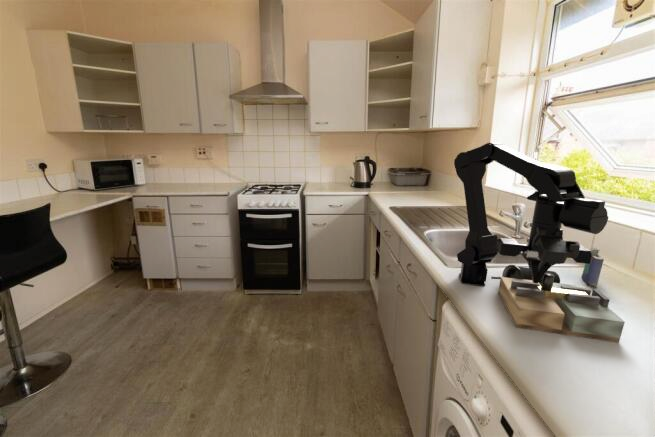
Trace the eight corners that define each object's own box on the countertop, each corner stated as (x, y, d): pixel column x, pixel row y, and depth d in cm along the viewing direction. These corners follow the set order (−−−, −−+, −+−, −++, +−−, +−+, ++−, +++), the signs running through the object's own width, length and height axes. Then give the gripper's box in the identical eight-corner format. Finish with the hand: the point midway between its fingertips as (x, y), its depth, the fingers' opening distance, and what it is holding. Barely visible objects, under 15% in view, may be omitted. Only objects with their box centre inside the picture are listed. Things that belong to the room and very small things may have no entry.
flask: (598, 288, 92) (606, 253, 89) (585, 285, 93) (593, 252, 91) (590, 276, 100) (598, 244, 97) (579, 274, 101) (586, 243, 99)
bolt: (539, 296, 77) (543, 276, 75) (536, 291, 79) (540, 272, 78) (587, 302, 74) (593, 281, 73) (582, 297, 76) (587, 277, 75)
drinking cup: (545, 262, 95) (486, 260, 92) (567, 272, 88) (504, 270, 84) (539, 285, 97) (480, 284, 93) (560, 297, 89) (498, 296, 86)
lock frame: (515, 327, 73) (520, 300, 71) (498, 293, 89) (501, 270, 87) (619, 342, 68) (627, 313, 66) (580, 303, 84) (586, 279, 82)
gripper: (511, 227, 68) (501, 292, 72) (614, 235, 63) (597, 304, 67) (499, 215, 79) (490, 273, 83) (587, 221, 74) (573, 282, 78)
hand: (534, 282), depth 77 cm, fingers closed
